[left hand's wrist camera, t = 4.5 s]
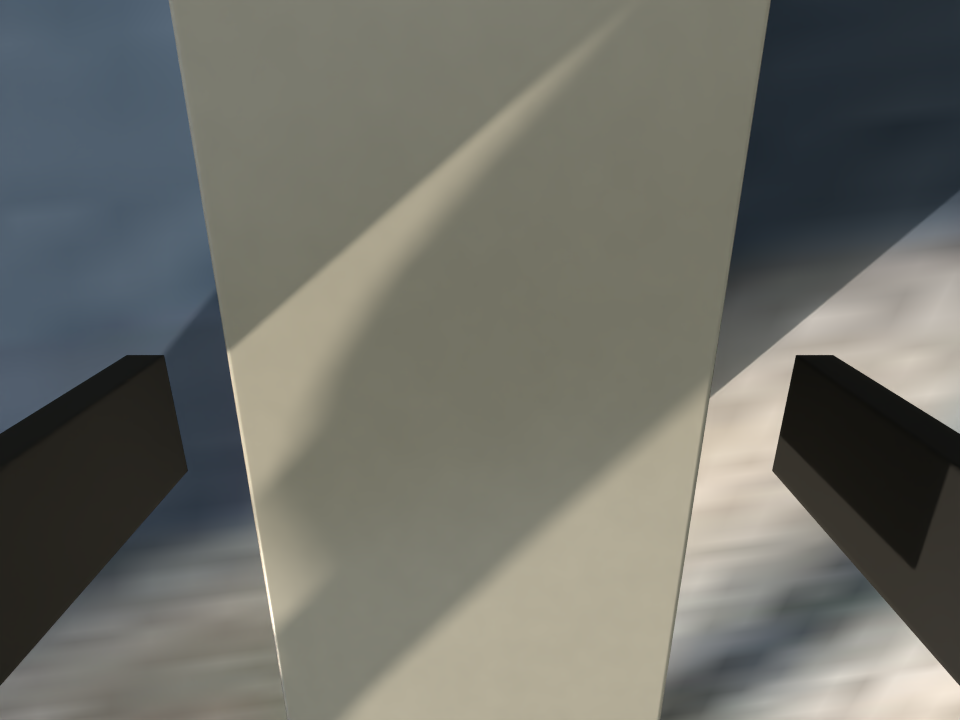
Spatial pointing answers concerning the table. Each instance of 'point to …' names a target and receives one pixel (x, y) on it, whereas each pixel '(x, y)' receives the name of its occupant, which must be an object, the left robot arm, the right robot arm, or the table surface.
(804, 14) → the table surface
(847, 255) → the table surface
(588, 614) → the bar
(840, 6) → the table surface
